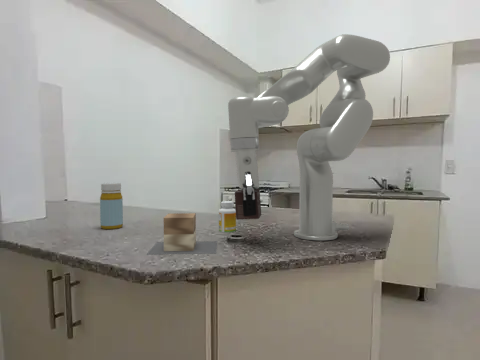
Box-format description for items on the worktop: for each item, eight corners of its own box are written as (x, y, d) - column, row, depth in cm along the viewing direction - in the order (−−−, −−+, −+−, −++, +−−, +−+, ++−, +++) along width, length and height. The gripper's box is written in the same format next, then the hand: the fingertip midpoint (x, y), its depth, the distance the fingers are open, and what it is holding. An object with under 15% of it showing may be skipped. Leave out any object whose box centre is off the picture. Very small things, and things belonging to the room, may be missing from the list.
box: (258, 219, 82) (257, 191, 81) (235, 220, 83) (233, 192, 82) (261, 215, 88) (260, 188, 87) (240, 215, 89) (238, 189, 88)
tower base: (195, 243, 84) (195, 228, 83) (193, 250, 77) (193, 234, 76) (168, 244, 83) (168, 228, 83) (163, 251, 76) (163, 234, 76)
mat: (217, 243, 86) (217, 241, 86) (216, 255, 74) (216, 253, 74) (157, 244, 86) (157, 241, 86) (146, 256, 74) (146, 254, 74)
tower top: (195, 228, 83) (195, 213, 83) (193, 234, 76) (193, 217, 76) (168, 228, 83) (168, 213, 83) (163, 234, 76) (163, 217, 76)
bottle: (101, 226, 111) (101, 183, 110) (123, 225, 113) (122, 182, 112) (99, 230, 104) (98, 184, 103) (122, 229, 106) (121, 183, 105)
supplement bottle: (239, 231, 102) (239, 201, 101) (230, 235, 97) (230, 203, 96) (225, 230, 104) (224, 200, 104) (215, 233, 100) (215, 202, 99)
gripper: (263, 143, 75) (267, 218, 77) (255, 146, 93) (258, 207, 94) (231, 145, 75) (235, 220, 76) (229, 147, 92) (233, 208, 94)
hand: (248, 212), depth 85 cm, fingers closed on box, 6 cm apart
